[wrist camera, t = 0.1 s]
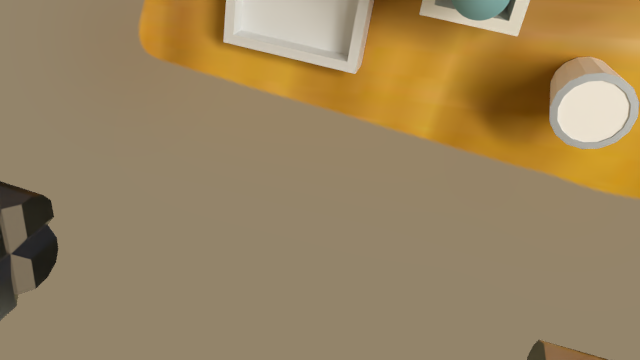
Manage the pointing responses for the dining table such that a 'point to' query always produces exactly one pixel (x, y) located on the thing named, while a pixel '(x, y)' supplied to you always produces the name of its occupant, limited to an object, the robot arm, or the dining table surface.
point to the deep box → (507, 21)
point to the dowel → (480, 8)
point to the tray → (302, 29)
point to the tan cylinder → (591, 104)
